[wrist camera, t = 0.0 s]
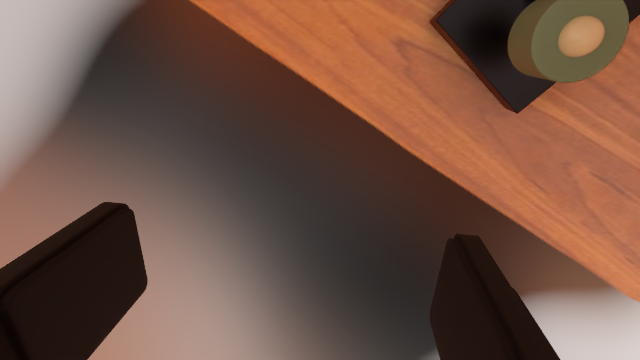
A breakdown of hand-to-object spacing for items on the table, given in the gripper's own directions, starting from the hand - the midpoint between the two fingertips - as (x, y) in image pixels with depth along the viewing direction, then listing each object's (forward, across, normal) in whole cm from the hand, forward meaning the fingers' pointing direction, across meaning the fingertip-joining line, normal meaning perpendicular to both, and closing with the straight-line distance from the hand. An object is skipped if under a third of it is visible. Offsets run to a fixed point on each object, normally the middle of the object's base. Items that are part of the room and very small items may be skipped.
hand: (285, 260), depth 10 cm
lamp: (+18, -13, -7) cm, 23 cm away
